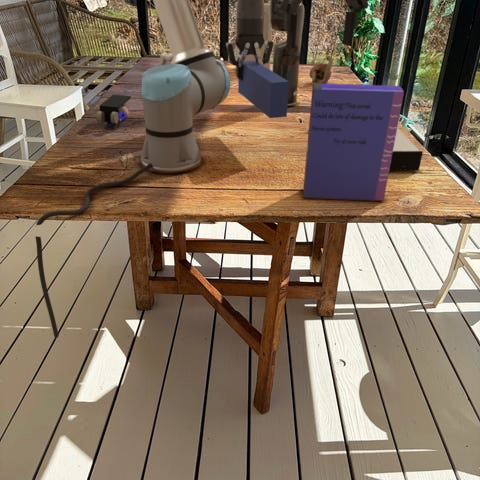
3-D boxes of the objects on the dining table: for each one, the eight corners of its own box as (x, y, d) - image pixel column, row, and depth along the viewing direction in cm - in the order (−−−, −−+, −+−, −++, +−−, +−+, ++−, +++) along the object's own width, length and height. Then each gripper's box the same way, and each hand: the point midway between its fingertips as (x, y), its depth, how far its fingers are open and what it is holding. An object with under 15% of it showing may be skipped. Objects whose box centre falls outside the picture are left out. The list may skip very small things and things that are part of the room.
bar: (286, 116, 123) (288, 81, 118) (269, 118, 122) (271, 82, 117) (252, 90, 144) (253, 60, 140) (238, 91, 143) (238, 60, 139)
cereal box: (379, 191, 109) (398, 84, 97) (383, 201, 105) (404, 90, 93) (303, 188, 110) (312, 82, 98) (304, 197, 106) (314, 88, 94)
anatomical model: (319, 90, 206) (319, 91, 192) (304, 75, 205) (303, 75, 191) (340, 67, 202) (342, 66, 188) (325, 52, 201) (326, 50, 187)
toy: (179, 75, 210) (178, 59, 206) (155, 65, 227) (154, 49, 224) (226, 69, 222) (226, 53, 218) (199, 60, 239) (199, 45, 235)
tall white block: (273, 76, 210) (276, 6, 196) (239, 77, 209) (240, 6, 194) (266, 67, 226) (268, 2, 212) (235, 67, 225) (235, 1, 210)
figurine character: (119, 135, 145) (134, 115, 156) (115, 111, 140) (131, 93, 152) (98, 134, 145) (114, 114, 157) (93, 110, 141) (110, 92, 152)
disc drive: (349, 170, 120) (352, 151, 117) (332, 140, 139) (334, 123, 137) (418, 171, 120) (423, 152, 118) (392, 140, 140) (395, 124, 137)
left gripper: (375, -69, 99) (360, 41, 110) (263, -73, 92) (259, 45, 103) (396, -70, 93) (378, 46, 104) (278, -74, 86) (272, 51, 97)
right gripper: (269, 12, 135) (267, 75, 144) (221, 14, 131) (222, 78, 140) (279, 16, 129) (276, 80, 138) (229, 17, 125) (229, 84, 134)
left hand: (319, 46), depth 103 cm, fingers open, 13 cm apart
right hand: (249, 79), depth 139 cm, fingers closed on bar, 4 cm apart
